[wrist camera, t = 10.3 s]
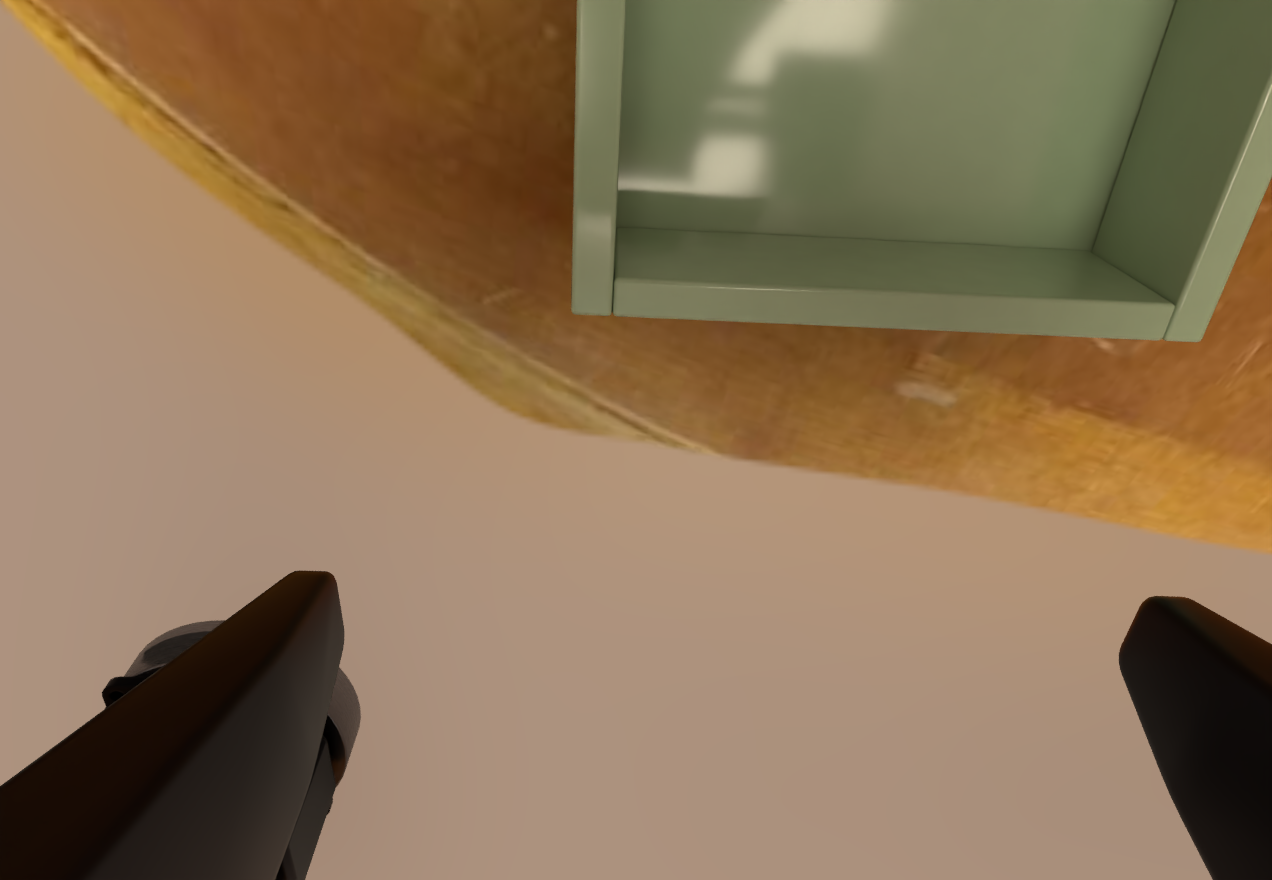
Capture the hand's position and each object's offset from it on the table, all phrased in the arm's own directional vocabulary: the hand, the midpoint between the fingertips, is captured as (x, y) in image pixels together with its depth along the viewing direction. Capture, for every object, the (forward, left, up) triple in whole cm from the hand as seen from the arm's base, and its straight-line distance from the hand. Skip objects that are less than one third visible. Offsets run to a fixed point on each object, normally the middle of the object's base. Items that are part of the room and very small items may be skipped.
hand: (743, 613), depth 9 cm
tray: (+4, +5, -12) cm, 14 cm away
